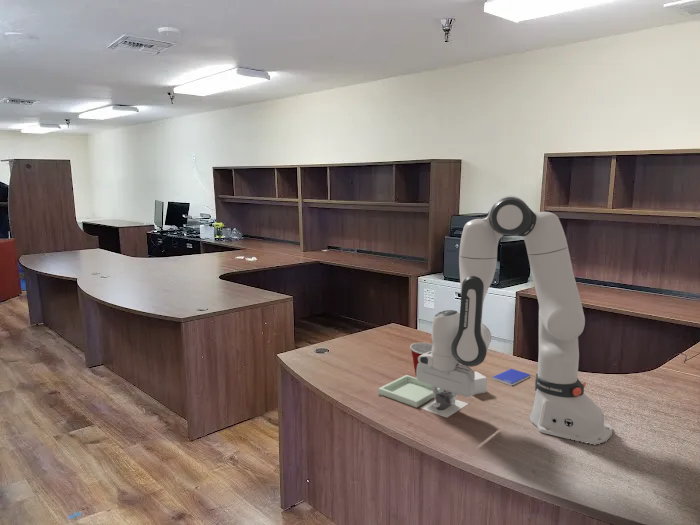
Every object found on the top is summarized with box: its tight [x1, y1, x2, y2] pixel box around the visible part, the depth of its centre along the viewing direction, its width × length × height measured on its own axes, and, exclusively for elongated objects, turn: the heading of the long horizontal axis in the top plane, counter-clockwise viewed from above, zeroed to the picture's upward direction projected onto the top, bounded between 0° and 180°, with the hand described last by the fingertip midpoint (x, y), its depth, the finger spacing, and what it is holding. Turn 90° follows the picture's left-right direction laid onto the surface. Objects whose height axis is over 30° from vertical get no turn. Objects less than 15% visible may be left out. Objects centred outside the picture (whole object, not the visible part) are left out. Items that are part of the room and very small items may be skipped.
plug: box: [433, 390, 453, 410], centre depth 160 cm, size 9×3×4 cm, turn 137°
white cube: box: [472, 371, 488, 396], centre depth 172 cm, size 6×6×6 cm
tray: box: [377, 374, 445, 409], centre depth 171 cm, size 16×16×2 cm
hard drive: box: [491, 368, 531, 387], centre depth 184 cm, size 2×8×12 cm
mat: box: [420, 398, 469, 418], centre depth 161 cm, size 10×13×1 cm
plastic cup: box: [409, 342, 433, 375], centre depth 184 cm, size 11×11×12 cm
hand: (444, 401), depth 161 cm, fingers open, 4 cm apart
